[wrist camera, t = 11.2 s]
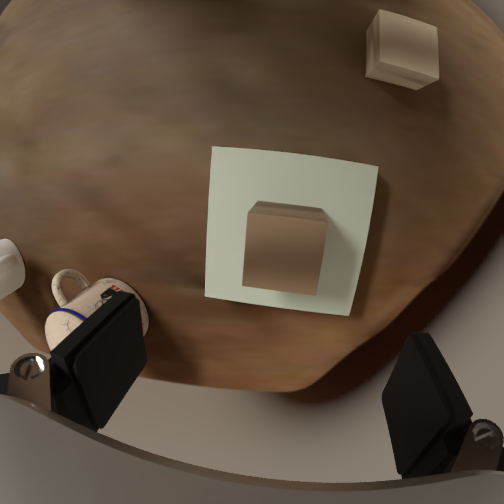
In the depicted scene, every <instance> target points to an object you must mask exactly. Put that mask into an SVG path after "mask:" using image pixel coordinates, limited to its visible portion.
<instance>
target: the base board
mask: <svg viewBox="0 0 504 504" xmlns="http://www.w3.org/2000/svg"><path fill="white" fill-rule="evenodd" d="M377 174H378V166H373V165H367V164H362V163H356V162H350V161H344V160H338V159H332V158H325V157H318V156H311V155H303V154H295V153H286V152H277V151H267V150H256V149H244V148H230V147H213V146H212V158H211V172H210V187H209V204H208V223H207V246H206V275H205V296H206V297H212V298H218V299H224V300H231V301H237V302H244V303H250V304H257V305H264V306H271V307H279V308H286V309H294V310H302V311H310V312H318V313H327V314H335V315H345V316H349V314H350V310H351V307H352V303H353V299H354V295H355V291H356V287H357V282H358V278H359V274H360V269H361V265H362V260H363V256H364V251H365V246H366V241H367V236H368V230H369V225H370V219H371V214H372V208H373V201H374V195H375V188H376V181H377ZM257 201H266V202H275V203H284V204H292V205H300V206H308V207H316V208H322V210H323V212H324V214H325V216H326V219H327V221H328V228H327V234H326V241H325V247H324V253H323V259H322V265H321V271H320V276H319V282H318V287H317V293H316V296H315V295H306V294H298V293H290V292H282V291H275V290H267V289H260V288H252V287H245V286H242V278H243V265H244V252H245V239H246V226H247V214H248V212H249V210H250V209H251V208H252V207H253V206H254V205H255V203H256V202H257Z"/></svg>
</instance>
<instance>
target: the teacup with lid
mask: <svg viewBox="0 0 504 504" xmlns="http://www.w3.org/2000/svg"><path fill="white" fill-rule="evenodd" d="M63 277H69V278H72V279H74V280H76V281H77V282H78V283H79V285H80V286H81V288H82V289H83V292H81V293H80V294H79V295H77V296H76V297H75V298H73V299H72V300H71V301H69V302H68V301H67V299H66V298H65V296H64V294H63V292H62V289H61V279H62V278H63ZM118 291H124V292H129V293H133V294H135V296H136V298H138V299H139V301H140V309H141V319H142V328H143V336H144V335H145V334H146V332H147V329H148V324H149V319H148V313H147V310H146V307H145V305H144V303H143V301H142V300H141V298H140V297H139V295H138V294H137V293H136V292H135V291H134V290H133V289H132V288H131V287H130V286H128V285H127V284H125V283H124V282H122V281H119V280H117V279H113V278H104V279H100V280H98V281H97V282H95V283H94V284H92V285H90V283H89V282H88V280H87V279H86V277H85V276H84V275H83V274H82V273H80V272H79V271H77V270H73V269H65V270H62V271H60V272H59V273H57V274H56V275H55V276H54V278H53V281H52V292H53V295H54V297H55V299H56V301H57V303H58V304H59V306H60V308H58V309H55V310H53V311H52V312H51V313H50V315H49V317H48V318H47V321H46V325H45V334H46V339H47V342H48V345H49V347H50V349H51V351H52V350H53V349H54V348H55V347H56V346H57V345H58V344H59V343H60V342H61V341H62V340H63V339H64V338H66V337H67V336H68V335H69V334H70V333H71V332H72V331H73V330H74V329H75V328H77V327H78V326H79V325H80V324H81V323H82V322H83V321H84V320H85V319H87V318H88V317H89V316H90V315H91V314H92V313H93V312H95V311H96V310H97V309H98V308H99V307H100V306H101V305H103V304H104V303H105V302H106V301H107V300H108V299H109V298H111V297H112V296H113V295H114V294H115V293H116V292H118Z"/></svg>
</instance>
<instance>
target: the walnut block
mask: <svg viewBox="0 0 504 504" xmlns="http://www.w3.org/2000/svg"><path fill="white" fill-rule="evenodd" d="M327 228H328V221H327V219H326V216H325V214H324V212H323V210H322V208H316V207H308V206H300V205H292V204H284V203H275V202H266V201H257V202H256V203H255V205H254V206H253V207H252V208H251V209H250V210H249V212H248V214H247V226H246V239H245V252H244V265H243V278H242V286H245V287H252V288H260V289H267V290H275V291H282V292H290V293H298V294H306V295H315V296H316V293H317V287H318V282H319V276H320V271H321V265H322V259H323V253H324V247H325V241H326V234H327Z"/></svg>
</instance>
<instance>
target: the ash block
mask: <svg viewBox="0 0 504 504" xmlns="http://www.w3.org/2000/svg"><path fill="white" fill-rule="evenodd" d="M365 77H367V78H372V79H376V80H380V81H384V82H388V83H392V84H396V85H400V86H403V87H407V88H410V89H414V90H418V89H420V88H422V87H424V86H427V85H429V84H431V83H433V82H435V81H437V80H439V52H438V35H437V27H435V26H432V25H429V24H427V23H424V22H421V21H418V20H415V19H412V18H409V17H406V16H403V15H399V14H396V13H392V12H389V11H385V10H381V9H379V10H378V12H377V14H376V16H375V17H374V19H373V21H372V23H371V24H370V26H369V28H368V30H367V49H366V76H365Z"/></svg>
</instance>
